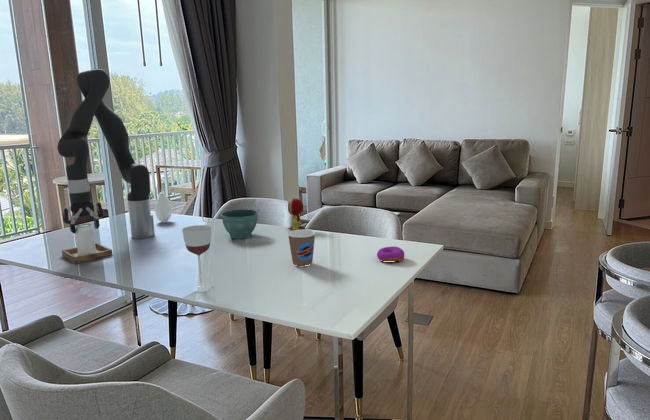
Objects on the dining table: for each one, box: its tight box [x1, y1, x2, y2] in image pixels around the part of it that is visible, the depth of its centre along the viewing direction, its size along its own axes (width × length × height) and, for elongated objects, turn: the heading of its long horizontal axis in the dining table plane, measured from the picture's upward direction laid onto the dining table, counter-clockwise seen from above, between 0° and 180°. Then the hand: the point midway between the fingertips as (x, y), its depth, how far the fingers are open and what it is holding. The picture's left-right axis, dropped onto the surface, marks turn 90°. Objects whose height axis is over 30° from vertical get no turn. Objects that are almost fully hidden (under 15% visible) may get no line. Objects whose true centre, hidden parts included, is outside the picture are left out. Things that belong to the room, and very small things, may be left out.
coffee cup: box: [287, 228, 317, 266], centre depth 176 cm, size 10×10×12 cm
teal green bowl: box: [220, 208, 259, 239], centre depth 216 cm, size 16×16×11 cm
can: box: [74, 223, 96, 256], centre depth 191 cm, size 6×6×12 cm
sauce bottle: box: [154, 187, 173, 224], centre depth 245 cm, size 8×8×18 cm
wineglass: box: [181, 224, 212, 287], centre depth 153 cm, size 8×9×20 cm
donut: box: [376, 245, 405, 261], centre depth 179 cm, size 10×10×4 cm
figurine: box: [286, 198, 308, 232], centre depth 224 cm, size 9×10×15 cm
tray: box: [61, 242, 114, 265], centre depth 192 cm, size 14×15×2 cm
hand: (85, 230), depth 190 cm, fingers open, 8 cm apart
